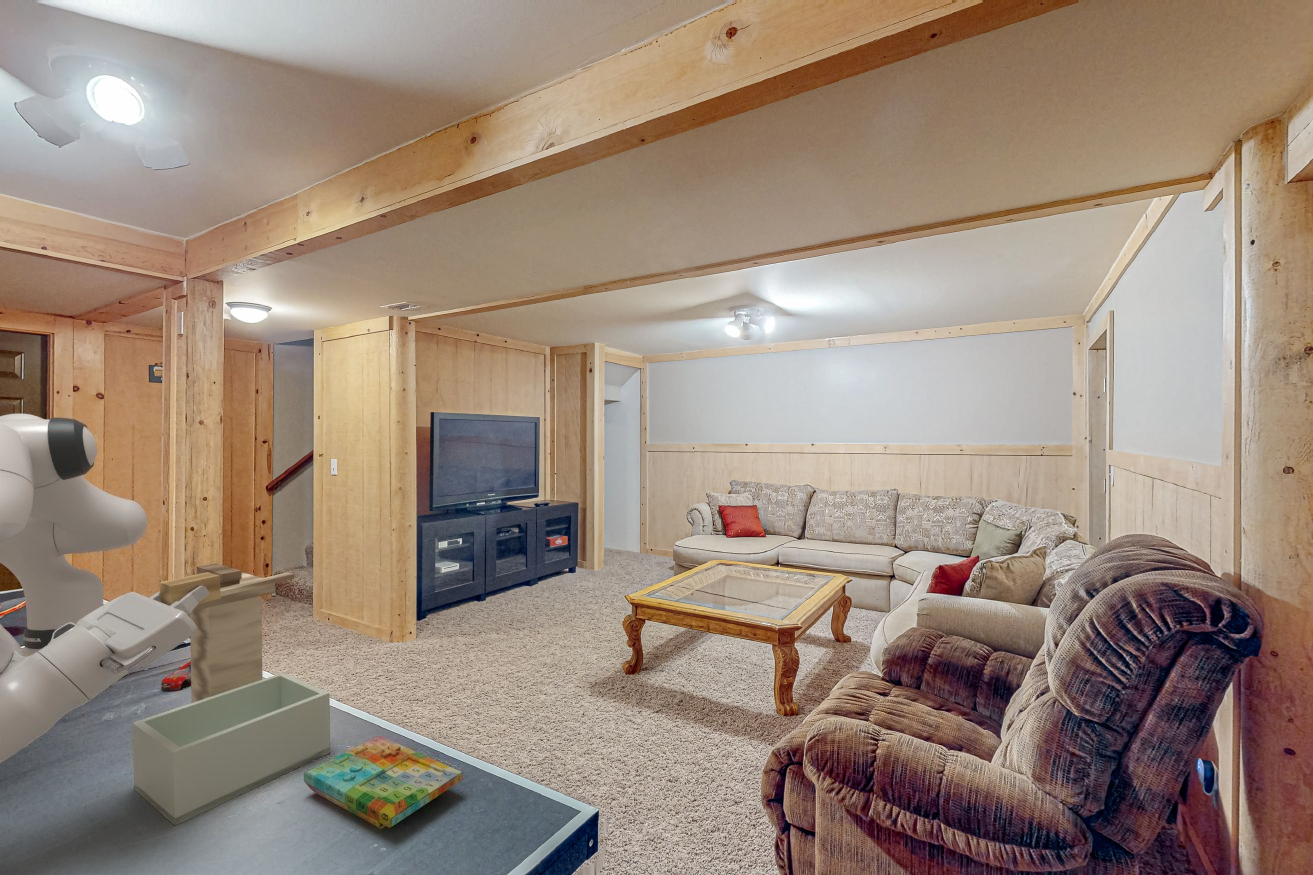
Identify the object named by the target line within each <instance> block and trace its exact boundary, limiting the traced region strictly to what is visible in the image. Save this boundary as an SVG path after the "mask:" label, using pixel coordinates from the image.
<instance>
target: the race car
mask: <svg viewBox="0 0 1313 875" xmlns="http://www.w3.org/2000/svg"><path fill="white" fill-rule="evenodd" d="M160 685H161V690H163V691H175V690H184V689H183V688H185V689H187V688H189V687H190V686H191V660H190V661H188V662H187V663H185V664H183V665H182V666H179V667H178V669H177V670H176V671H174V672H172V673H171V674H169V675H167V676H165V677H164V678H163V679H162V680H161V684H160ZM186 687H187V688H186Z"/></svg>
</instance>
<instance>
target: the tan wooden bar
mask: <svg viewBox="0 0 1313 875" xmlns="http://www.w3.org/2000/svg"><path fill="white" fill-rule="evenodd" d="M261 578H262V579H258V580H253V581H249V582H245V583H241V584H236V585H232V586H228V587H224V588H220V576H219V575H216V574H213V573H209V572H206V573H201V574H197V573H196V574H194V575H193V574H192V575H189V576H183V577H178V578H174V579H170V580H165V581H160V582H159V583H158V586H159V592H160V599H161V603H164V604H166V605H169V606H170V605H172V604H173V603H175V602H176V601H178V602H179V601H180V600H181V599H182V598H183V597H185V596H186V595H187V594H188V591H189V590H191V589H192V588H194V587H195V586H197V585H202V586H205V587H206V588H207V590H208V591H209V592H210V593H209V595H208V596H207V597H206V598H204V599H203V600H202V601H200V602H199V603H198V604H200V603H204V602H208V601H212V600H216V599H220V598H221V596H225V595H230V594H234V593H238V592H242V591H246V590H250V589H254V588H258V587H262V586H266V585H270V584H274V583H275V584H278V583H281V582H285V581H291V580H293V579H295V573H292V572H283V573H280V574H276V575H271V576H267V577H261Z"/></svg>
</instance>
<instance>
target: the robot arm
mask: <svg viewBox="0 0 1313 875" xmlns="http://www.w3.org/2000/svg"><path fill="white" fill-rule="evenodd" d="M97 455H98V446H97V441H96V439H95V437H94V434H93V433H92V432H91V431H90V430H89V428H88V426H87V425H86V424H85V423H83V422H81V421H80V420H78V419H74V418H68V417H53V416H52V417H50V419H45V418H42V417H41V416H36V415H34V414H31V413H9V414H4V415H0V564H1V565H3V566H5V567H6V568H7V569H8V570H9V571H10V572H11V573H12V574H13V575H14V576H15V577H16V579H17V580H18V582H19V583H20V586H21V587H22V591H23V594H24V600H25V608H26V627H25V628H24V630H23V634H22V640H23V643H22V644H23V648H22V647H21V645H20V644H19V642H18V641H17V640H16V639H15V638H14V636H13V635H12V634H11V633H10V632H9V631H8V630H7V629H5V627H4V626H3V625H2V624H1V623H0V764H1V763H3V762H4V761H6V760H7V759H9V758H11V757H12V756H14V755H15V754H17V753H18V752H20V751H21V750H23V749H24V748H26V747H27V746H28V745H30V744H31V743H33V742H34V741H36V740H38V738H40V737H42V736H43V735H44V734H45V733H47V732H49V731H50V730H51V729H52V728H53V727H54V726H55V725H56V724H57V723H58V721H60V720H61V719H62V718H63V717H64V716H66V714H68V713H70V712H72V711H73V710H75V709H77V708H79V707H82V706H83V705H86V704H87V703H89V702H90V701H91V700H93V699H94V698H96V697H97V696H98V695H100V694H101V693H103V692H104V691H105V690H107V689H108V688H110V687H111V686H112V685H113V684H115V683H116V682H118V681H119V680H121V679H122V678H124V677H125V676H127V675H128V674H129V670H132V669H133V668H134V669H139V668H143V667H145V666H148V665H150V664H151V663H153V662H155V661H157V660H158V659H160V658H162V657H163V656H165V655H166V654H167V653H169V652H171V651H172V650H174V649H175V648H176V647H178V646H180V645H181V644H182V643H184V642H185V641H186V640H188V639H190V637H191V636H192V635H193V634H194V632H195V631H196V630H197V626H196V625H195V623H194V622H193V621H192V620H191V618H190V613H191V612H192V610H193V609H194V608H195V607H196V606H197V604H198V603H199V602H200V601H202V600H203V599H204V598H206V597H207V596H208V595H209V593H210V592H209V591H208V590H207V588H206V587H205V586H202V585H197V586H195V587H194V588H192V589H191V590H189V591H188V594H187V595H186V596H185V597H183V598H182V599H181V600H180V601H179V602H178V601H176V602H175V603H173V604H172V605H170V606H169V605H166V604H164V603H161V599H160V591H158V592H155V593H154V594H152V595H151V596H149V597H148V596H146V595H143V594H141V593H138V592H135V591H131V592H127V593H125V594H122V595H119V596H118V597H115V598H114V599H112V600H110V601H108V602H106V603H104V583H103V581H102V580H101V578H100V577H99V576H98V575H96V574H95V573H93V572H92V571H88V570H85V569H82V568H78V567H75V566H73V565H72V564H71V563H69V562H68V560H67V559H66V557H65V555H70V554H72V555H73V554H83V553H84V554H85V553H98V552H99V553H100V552H106V551H113V550H116V549H122V548H125V547H129V546H133V545H135V544H136V543H138V542H139V541H140V540H141V538H142V537H144V534H145V532H146V530H147V526H148V516H147V513H146V511H145V509H144V508H143V507H142V506H141V505H140V503H138V502H137V501H135V500H131V499H127V498H124V497H121V496H116V495H114V494H111V493H110V492H109V493H108V492H106V491H105V490H103V489H101V488H99V487H97V486H96V485H95V484H92V483H91V482H90V481H88V480H87V479H86V477H84V475H86V474H88V472H89V471H91V469H92V468H94V466H95V460H96V459H97Z"/></svg>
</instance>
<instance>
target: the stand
mask: <svg viewBox="0 0 1313 875" xmlns="http://www.w3.org/2000/svg"><path fill="white" fill-rule="evenodd" d="M206 572H209V573H213V574H216V575H219V576H220V588H224V587H228V586H232V585H236V584H241V583H245V582H249V581H253V580H258V579H262V578H263V577H260V576H256V575H253V574H250V573H247V572H243V571H242V570H241V569H237V568H233V567H230V566H226V565H223V564H220V563H210V564H206V565H204V564H203V565H199V566H196V574H201V573H206ZM275 593H276V583H274V584H270V585H266V586H262V587H258V588H254V589H250V590H246V591H242V592H238V593H234V594H230V595H225V596H221V598H220V599H216V600H212V601H208V602H204V603H200V604H197V606H196V607H195V608H194V609H193V610H192V612H191V613H190V614H189V617H190V618H191V620H192V621H193V622H194V623H195V625H196V626H197V630H196V631H195V632H194V634H193V635H192V636H191V637H189V639H190V640H189V641H190V661H191V685H190V686H191V689H190V690H191V703H194V702H197V701H200V700H203V699H206V698H209V697H212V696H215V695H218V694H221V693H224V692H227V691H230V690H233V689H236V688H239V687H242V686H245V685H248V684H251V683H254V682H257V681H260V680H263V679H264V678H263V640H262V639H263V624H262V623H263V622H262V620H263V619H262V618H263V617H262V596H266V595H267V596H268V595H270V594H275Z"/></svg>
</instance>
